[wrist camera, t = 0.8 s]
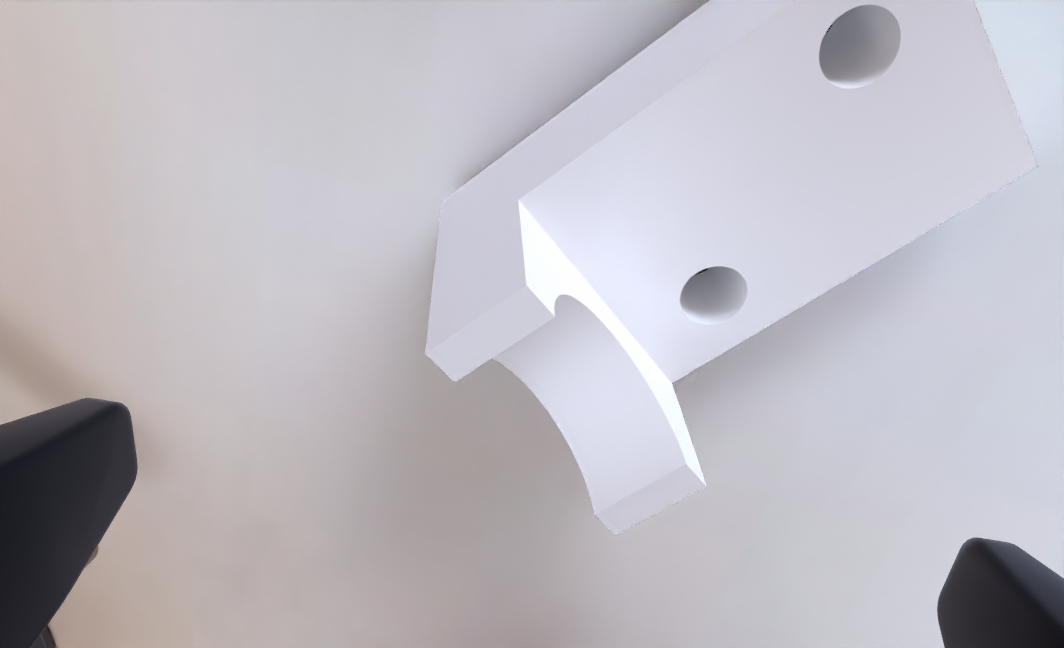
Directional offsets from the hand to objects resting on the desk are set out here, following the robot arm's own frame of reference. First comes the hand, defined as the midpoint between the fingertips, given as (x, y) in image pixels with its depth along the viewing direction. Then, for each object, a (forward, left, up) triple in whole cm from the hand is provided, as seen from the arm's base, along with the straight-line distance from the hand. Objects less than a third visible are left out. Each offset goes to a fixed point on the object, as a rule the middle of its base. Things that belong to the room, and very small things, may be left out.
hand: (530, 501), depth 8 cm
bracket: (+1, -4, -16) cm, 16 cm away
